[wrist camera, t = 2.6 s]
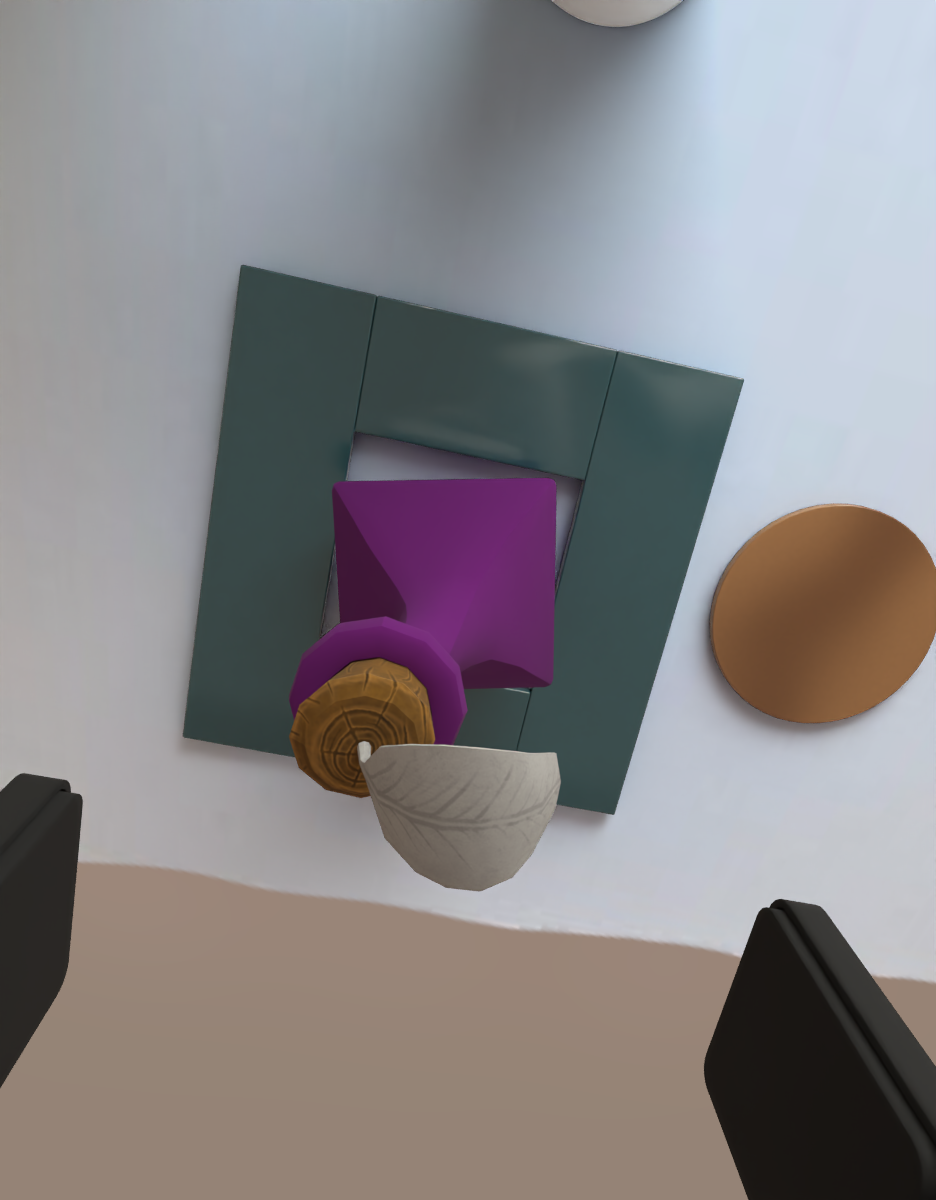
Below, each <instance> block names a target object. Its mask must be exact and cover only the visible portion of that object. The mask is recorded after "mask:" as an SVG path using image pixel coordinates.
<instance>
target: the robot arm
mask: <svg viewBox="0 0 936 1200" xmlns="http://www.w3.org/2000/svg"><path fill="white" fill-rule="evenodd" d="M82 804H83V800H82V796H81V795H80V794H76V793H71V788H70V784H69V782H68V781H67V780H62V779H56V778H50V777H44V776H38V775H31V774H25V773H23V774H19V775H18V776H16V777H15V778H14V779H13V780H12V781H11V782H10V783H9V784H8V785H7V786H6V787H5V788H3V789H2V790H1V791H0V1087H1V1086H2V1084H3V1083H4V1081H5V1079H6V1078H7V1076H8V1075H9V1073H10V1071H11V1069H12V1068H13V1066H14V1065H15V1063H16V1061H17V1060H18V1058H19V1057H20V1055H21V1053H22V1052H23V1050H24V1048H25V1047H26V1045H27V1043H28V1042H29V1040H30V1038H31V1037H32V1035H33V1034H34V1032H35V1030H36V1029H37V1027H38V1026H39V1024H40V1022H41V1021H42V1019H43V1017H44V1016H45V1014H46V1012H47V1011H48V1009H49V1008H50V1006H51V1004H52V1003H53V1001H54V999H55V998H56V996H57V994H58V992H59V991H60V988H61V986H62V984H63V981H64V978H65V975H66V971H67V968H68V962H69V951H70V940H71V929H72V917H73V906H74V895H75V884H76V873H77V862H78V851H79V839H80V828H81V817H82ZM704 1076H705V1083H706V1086H707V1089H708V1092H709V1095H710V1098H711V1100H712V1103H713V1106H714V1108H715V1111H716V1113H717V1116H718V1119H719V1122H720V1124H721V1127H722V1130H723V1132H724V1135H725V1138H726V1140H727V1143H728V1146H729V1149H730V1151H731V1154H732V1157H733V1159H734V1162H735V1165H736V1167H737V1170H738V1173H739V1176H740V1178H741V1181H742V1183H743V1186H744V1189H745V1192H746V1194H747V1197H748V1199H749V1200H936V1066H935V1065H934V1064H933V1062H932V1061H931V1059H930V1058H929V1056H928V1055H927V1054H926V1052H925V1051H924V1049H923V1048H922V1047H921V1045H920V1044H919V1042H918V1041H917V1040H916V1038H915V1037H914V1035H913V1034H912V1033H911V1031H910V1030H909V1028H908V1027H907V1026H906V1024H905V1023H904V1021H903V1020H902V1019H901V1017H900V1016H899V1014H898V1013H897V1011H896V1010H895V1009H894V1007H893V1006H892V1004H891V1003H890V1002H889V1001H888V999H887V997H886V996H885V995H884V993H883V992H882V991H881V989H880V988H879V986H878V985H877V984H876V982H875V981H874V979H873V978H872V976H871V975H870V974H869V972H868V971H867V969H866V968H865V967H864V965H863V964H862V962H861V961H860V960H859V958H858V957H857V955H856V954H855V952H854V951H853V950H852V948H851V947H850V945H849V944H848V943H847V941H846V940H845V938H844V937H843V936H842V934H841V933H840V931H839V930H838V929H837V927H836V926H835V924H834V923H833V922H832V920H831V919H830V917H829V916H828V915H827V913H826V912H825V911H824V910H823V909H822V908H821V907H820V906H817V905H813V904H807V903H801V902H795V901H789V900H783V899H778V900H775V901H774V902H773V903H772V904H771V906H770V908H767V907H766V908H762V909H761V910H760V911H759V913H758V915H757V917H756V920H755V923H754V925H753V928H752V931H751V934H750V936H749V939H748V942H747V945H746V947H745V950H744V953H743V955H742V958H741V961H740V964H739V966H738V969H737V972H736V974H735V977H734V980H733V983H732V986H731V988H730V991H729V994H728V996H727V999H726V1002H725V1005H724V1007H723V1010H722V1013H721V1015H720V1018H719V1021H718V1023H717V1026H716V1029H715V1032H714V1035H713V1037H712V1040H711V1043H710V1045H709V1048H708V1051H707V1053H706V1057H705V1063H704Z"/></svg>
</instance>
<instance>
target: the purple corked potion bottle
mask: <svg viewBox="0 0 936 1200" xmlns="http://www.w3.org/2000/svg"><path fill="white" fill-rule="evenodd" d="M332 502H333V517H334V533H335V549H336V564H337V580H338V596H339V611H340V624H338V625H336V626H335V627H334V628H333V629H332V630H330V631H329V632H328V633H327V634H326V635H324V636H323V637H322V638H321V639H320V640H318V641H317V642H316V643H315V644H314V645H312V646H311V647H310V648H309V649H308V650H306V651H305V652H304V653H303V654H302V657H301V660H300V663H299V666H298V669H297V672H296V675H295V678H294V681H293V684H292V687H291V690H290V693H289V702H290V706H291V710H292V714H293V718H294V723H293V726H292V729H291V732H290V735H289V738H290V742H291V745H292V748H293V751H294V754H295V758H296V761H297V764H298V767H299V768H300V769H301V770H302V771H303V772H305V773H306V774H307V775H308V776H309V777H311V778H312V779H313V780H314V781H316V782H317V783H318V784H319V785H320V786H322V787H323V788H324V789H325V790H329V791H333V792H337V793H342V794H346V795H350V796H355V797H359V798H363V797H368V796H371V798H372V801H373V804H374V807H375V810H376V813H377V816H378V819H379V823H380V826H381V829H382V832H383V835H384V838H385V839H386V840H387V841H388V842H389V843H390V844H391V846H392V847H393V848H394V849H395V850H396V851H397V852H398V853H399V854H400V855H401V857H402V858H403V859H404V860H405V861H406V862H407V863H408V864H409V865H410V867H411V868H412V869H413V870H414V871H415V872H417V873H418V874H420V875H422V876H424V877H426V878H428V879H430V880H432V881H434V882H436V883H438V884H440V885H442V886H444V887H446V888H454V889H463V890H472V891H482V890H485V889H487V888H489V887H492V886H494V885H496V884H499V883H501V882H503V881H506V880H508V879H510V878H512V877H513V876H514V875H515V874H516V873H517V872H518V870H519V869H520V868H521V867H522V866H523V864H524V863H525V862H526V861H527V860H528V859H529V857H530V856H531V855H532V853H533V851H534V849H535V847H536V845H537V844H538V842H539V840H540V838H541V836H542V834H543V832H544V830H545V828H546V826H547V824H548V822H549V821H550V819H551V817H552V815H553V813H554V811H555V808H556V803H557V798H558V794H559V789H560V784H561V779H560V773H559V767H558V761H557V755H556V753H526V752H518V751H510V750H500V749H490V748H480V747H467V746H454V742H455V740H456V737H457V735H458V732H459V730H460V728H461V725H462V723H463V720H464V718H465V715H466V713H467V711H468V710H467V705H466V699H465V694H464V689H487V688H531V687H547V686H549V685H551V683H552V681H553V665H554V605H555V545H556V483H555V481H554V480H553V479H550V478H507V479H451V480H394V481H339V482H337V483H335V484H334V485H333V488H332Z"/></svg>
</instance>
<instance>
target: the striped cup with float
mask: <svg viewBox="0 0 936 1200" xmlns="http://www.w3.org/2000/svg"><path fill="white" fill-rule="evenodd" d="M551 1H553V2H554V3H555V4H556V5H557V6H559V7H560V8H561V9H563V10H564V11H566V12H567V13H569V14H570V15H572V16H574V17H576V18H578V19H580V20H583V21H586V22H588V23H592V24H596V25H601V26H608V27H624V26H632V25H637V24H641V23H644V22H647V21H650V20H653V19H655V18H657V17H659V16H661V15H663V14H665V13H666V12H668V11H670V10H671V9H673V8H674V7H675V6H677V5H678V4H680V3H681V2H682V1H683V0H551Z"/></svg>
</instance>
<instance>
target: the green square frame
mask: <svg viewBox="0 0 936 1200" xmlns="http://www.w3.org/2000/svg"><path fill="white" fill-rule="evenodd" d="M743 382H744V379H743V378H738V377H734V376H730V375H725V374H721V373H717V372H712V371H708V370H703V369H699V368H695V367H690V366H686V365H681V364H677V363H673V362H668V361H664V360H659V359H655V358H651V357H646V356H642V355H637V354H633V353H629V352H624V351H620V350H619V351H617V350H615V349H611V348H607V347H602V346H598V345H593V344H589V343H585V342H580V341H576V340H571V339H567V338H563V337H558V336H554V335H549V334H545V333H541V332H536V331H532V330H528V329H523V328H519V327H514V326H510V325H506V324H501V323H497V322H492V321H488V320H484V319H479V318H475V317H470V316H466V315H462V314H457V313H453V312H448V311H444V310H440V309H435V308H431V307H426V306H422V305H418V304H413V303H409V302H404V301H400V300H396V299H391V298H387V297H383V296H378V297H377V296H376V295H374V294H369V293H365V292H361V291H356V290H352V289H347V288H343V287H339V286H334V285H330V284H325V283H321V282H317V281H312V280H308V279H303V278H299V277H295V276H290V275H286V274H281V273H277V272H273V271H268V270H264V269H260V268H255V267H251V266H246V265H241V268H240V276H239V284H238V292H237V300H236V308H235V317H234V325H233V333H232V341H231V349H230V357H229V365H228V373H227V381H226V389H225V398H224V406H223V414H222V422H221V430H220V438H219V446H218V454H217V462H216V470H215V478H214V487H213V495H212V503H211V511H210V519H209V527H208V535H207V543H206V551H205V559H204V568H203V576H202V584H201V592H200V600H199V608H198V616H197V624H196V632H195V640H194V648H193V657H192V665H191V673H190V681H189V689H188V697H187V705H186V713H185V721H184V729H183V737H184V738H190V739H196V740H201V741H207V742H212V743H218V744H223V745H229V746H235V747H240V748H246V749H251V750H257V751H262V752H268V753H273V754H279V755H285V756H290V757H295V754H294V751H293V748H292V745H291V742H290V738H289V735H290V732H291V729H292V726H293V723H294V718H293V714H292V710H291V706H290V702H289V693H290V690H291V687H292V684H293V681H294V678H295V675H296V672H297V669H298V666H299V663H300V660H301V657H302V654H303V653H304V652H305V651H306V650H308V649H309V648H310V647H311V646H312V645H314V644H315V643H316V642H317V641H318V640H320V638H321V632H322V626H323V620H324V614H325V608H326V602H327V597H328V591H329V585H330V579H331V573H332V567H333V561H334V555H335V550H336V549H335V533H334V517H333V502H332V488H333V485H334V484H335V483H337V482H339V481H347V479H348V473H349V467H350V461H351V456H352V450H353V444H354V438H355V432H359V433H364V434H369V435H373V436H378V437H383V438H387V439H392V440H397V441H401V442H406V443H411V444H415V445H420V446H425V447H429V448H434V449H439V450H444V451H448V452H453V453H458V454H462V455H467V456H472V457H476V458H481V459H486V460H490V461H495V462H500V463H504V464H509V465H514V466H518V467H523V468H528V469H533V470H537V471H542V472H547V473H551V474H556V475H561V476H565V477H570V478H575V479H579V480H582V484H581V488H580V492H579V496H578V500H577V504H576V508H575V512H574V515H573V519H572V523H571V527H570V531H569V535H568V539H567V543H566V547H565V551H564V555H563V559H562V563H561V567H560V571H559V575H558V579H557V583H556V587H555V605H554V665H553V681H552V683H551V685H549V686H547V687H531V688H530V689H529V688H487V689H464V694H465V699H466V705H467V710H468V711H467V713H466V715H465V718H464V720H463V723H462V725H461V728H460V730H459V732H458V735H457V737H456V740H455V742H454V746H467V747H480V748H490V749H500V750H510V751H518V752H526V753H556V755H557V761H558V767H559V773H560V779H561V784H560V789H559V794H558V798H557V803H556V805H562V806H567V807H573V808H579V809H584V810H590V811H595V812H601V813H606V814H612V815H614V814H615V810H616V807H617V804H618V800H619V797H620V794H621V790H622V787H623V784H624V780H625V777H626V774H627V770H628V767H629V764H630V760H631V757H632V753H633V750H634V747H635V743H636V740H637V737H638V733H639V730H640V727H641V723H642V720H643V717H644V713H645V710H646V707H647V703H648V700H649V697H650V693H651V690H652V687H653V683H654V680H655V677H656V673H657V670H658V666H659V663H660V660H661V656H662V653H663V650H664V646H665V643H666V640H667V636H668V633H669V630H670V626H671V623H672V620H673V616H674V613H675V610H676V606H677V603H678V600H679V596H680V593H681V590H682V586H683V583H684V580H685V576H686V573H687V569H688V566H689V563H690V559H691V556H692V553H693V549H694V546H695V543H696V539H697V536H698V533H699V529H700V526H701V523H702V519H703V516H704V513H705V509H706V506H707V503H708V499H709V496H710V493H711V489H712V486H713V483H714V479H715V476H716V472H717V469H718V466H719V462H720V459H721V456H722V452H723V449H724V446H725V442H726V439H727V436H728V432H729V429H730V426H731V422H732V419H733V416H734V412H735V409H736V406H737V402H738V399H739V396H740V392H741V389H742V386H743Z"/></svg>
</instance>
